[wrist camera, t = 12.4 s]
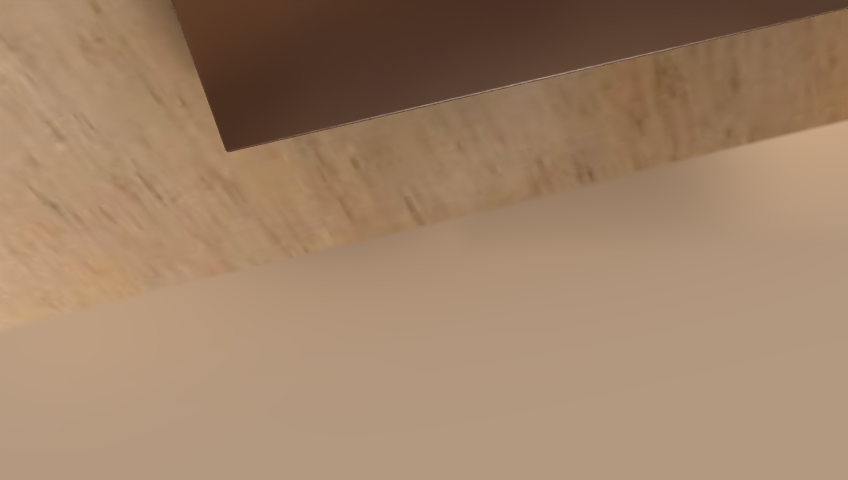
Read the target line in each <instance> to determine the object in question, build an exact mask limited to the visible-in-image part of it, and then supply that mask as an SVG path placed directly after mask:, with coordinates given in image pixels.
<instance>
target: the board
mask: <svg viewBox="0 0 848 480" xmlns="http://www.w3.org/2000/svg"><path fill="white" fill-rule="evenodd" d="M172 3H173V6H174V9H175V11H176V14H177V17H178V20H179V22H180V25H181V28H182V31H183V34H184V36H185V39H186V42H187V45H188V47H189V50H190V53H191V56H192V58H193V61H194V64H195V67H196V69H197V72H198V75H199V78H200V81H201V83H202V86H203V89H204V92H205V94H206V97H207V100H208V103H209V105H210V108H211V111H212V114H213V117H214V119H215V122H216V125H217V128H218V130H219V133H220V136H221V139H222V141H223V144H224V147H225V150H226V151H227V152H232V151H236V150H240V149H245V148H249V147H253V146H258V145H262V144H266V143H271V142H275V141H279V140H284V139H288V138H292V137H296V136H301V135H305V134H309V133H314V132H318V131H322V130H327V129H331V128H335V127H340V126H344V125H348V124H353V123H357V122H361V121H365V120H370V119H374V118H378V117H383V116H387V115H391V114H396V113H400V112H404V111H409V110H413V109H417V108H421V107H426V106H430V105H434V104H439V103H443V102H447V101H452V100H456V99H460V98H465V97H469V96H473V95H478V94H482V93H486V92H490V91H495V90H499V89H503V88H508V87H512V86H516V85H521V84H525V83H529V82H534V81H538V80H542V79H546V78H551V77H555V76H559V75H564V74H568V73H572V72H577V71H581V70H585V69H590V68H594V67H598V66H603V65H607V64H611V63H615V62H620V61H624V60H628V59H633V58H637V57H641V56H646V55H650V54H654V53H659V52H663V51H667V50H672V49H676V48H680V47H684V46H689V45H693V44H697V43H702V42H706V41H710V40H715V39H719V38H723V37H728V36H732V35H736V34H740V33H745V32H749V31H753V30H758V29H762V28H766V27H771V26H775V25H779V24H784V23H788V22H792V21H797V20H801V19H805V18H809V17H814V16H818V15H822V14H827V13H831V12H835V11H840V10H844V9H848V0H172Z"/></svg>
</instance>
